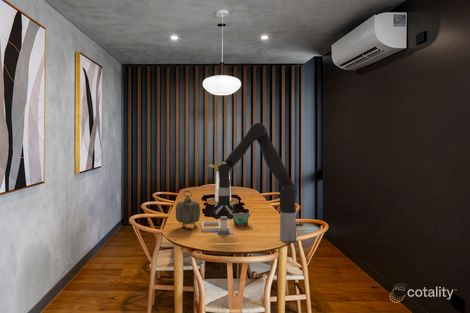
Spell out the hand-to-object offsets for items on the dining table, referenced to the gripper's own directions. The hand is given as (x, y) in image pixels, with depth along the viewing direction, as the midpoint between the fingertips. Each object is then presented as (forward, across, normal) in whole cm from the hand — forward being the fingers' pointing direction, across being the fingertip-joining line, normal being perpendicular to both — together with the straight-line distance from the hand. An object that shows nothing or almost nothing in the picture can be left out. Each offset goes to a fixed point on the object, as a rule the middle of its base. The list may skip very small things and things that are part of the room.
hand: (223, 219), depth 213 cm
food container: (+10, -13, -17) cm, 23 cm away
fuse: (+8, 0, 0) cm, 8 cm away
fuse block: (+9, 0, 0) cm, 9 cm away
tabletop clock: (+10, +24, -16) cm, 30 cm away
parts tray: (+9, +8, -12) cm, 17 cm away
